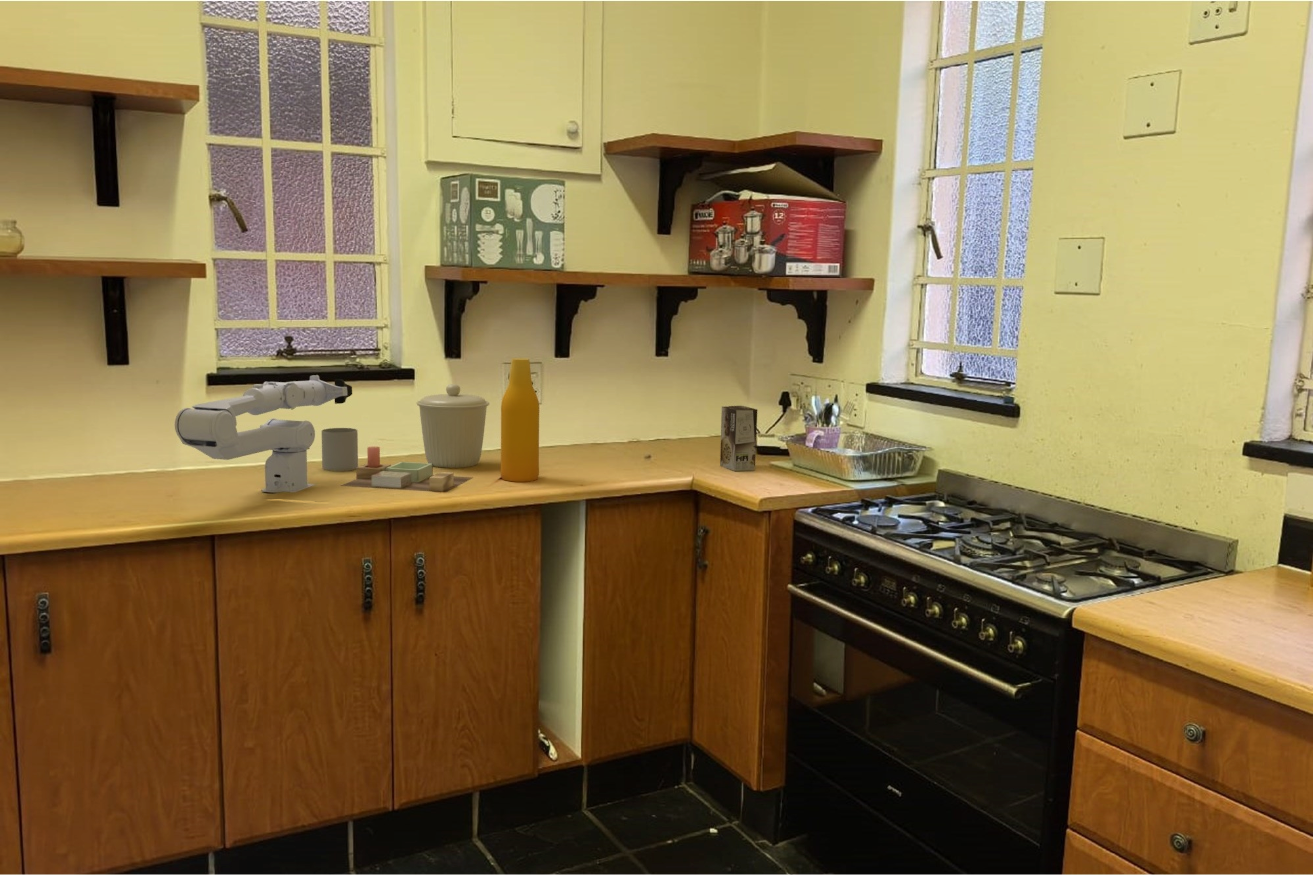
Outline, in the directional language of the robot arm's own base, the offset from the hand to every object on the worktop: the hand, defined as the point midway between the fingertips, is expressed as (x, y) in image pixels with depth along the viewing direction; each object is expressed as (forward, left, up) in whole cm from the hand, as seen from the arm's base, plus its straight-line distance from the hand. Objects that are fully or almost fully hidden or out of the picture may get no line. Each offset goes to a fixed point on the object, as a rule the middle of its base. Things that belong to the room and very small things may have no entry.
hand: (336, 391), depth 250 cm
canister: (+18, -22, -20) cm, 35 cm away
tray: (-3, -19, -20) cm, 28 cm away
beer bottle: (+7, -43, -20) cm, 48 cm away
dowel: (-4, -11, -20) cm, 23 cm away
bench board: (-7, -21, -20) cm, 30 cm away
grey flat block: (-12, -19, -20) cm, 30 cm away
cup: (+4, +2, -20) cm, 21 cm away
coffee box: (+38, -93, -20) cm, 103 cm away
